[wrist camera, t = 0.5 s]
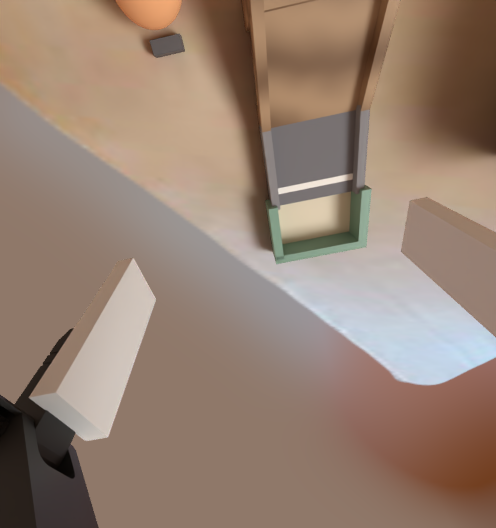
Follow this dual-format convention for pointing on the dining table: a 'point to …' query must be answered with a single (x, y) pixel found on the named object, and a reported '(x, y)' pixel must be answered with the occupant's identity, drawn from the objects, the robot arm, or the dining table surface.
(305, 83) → the ramp
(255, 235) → the dining table surface
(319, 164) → the runway
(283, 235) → the green open tray
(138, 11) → the ball
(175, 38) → the grey flat pieces
